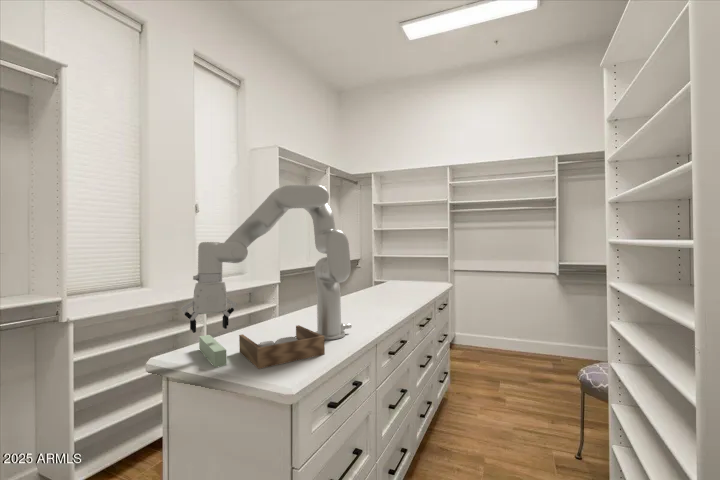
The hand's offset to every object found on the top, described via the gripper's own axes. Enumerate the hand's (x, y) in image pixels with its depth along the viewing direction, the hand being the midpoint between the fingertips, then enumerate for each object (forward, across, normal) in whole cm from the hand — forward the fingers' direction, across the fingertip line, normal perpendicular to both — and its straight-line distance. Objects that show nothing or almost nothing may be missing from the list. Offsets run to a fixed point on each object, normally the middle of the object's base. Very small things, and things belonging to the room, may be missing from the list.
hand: (209, 329), depth 117 cm
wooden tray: (+8, +21, -10) cm, 25 cm away
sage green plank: (+9, +1, 0) cm, 9 cm away
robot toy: (+9, +20, -10) cm, 24 cm away
